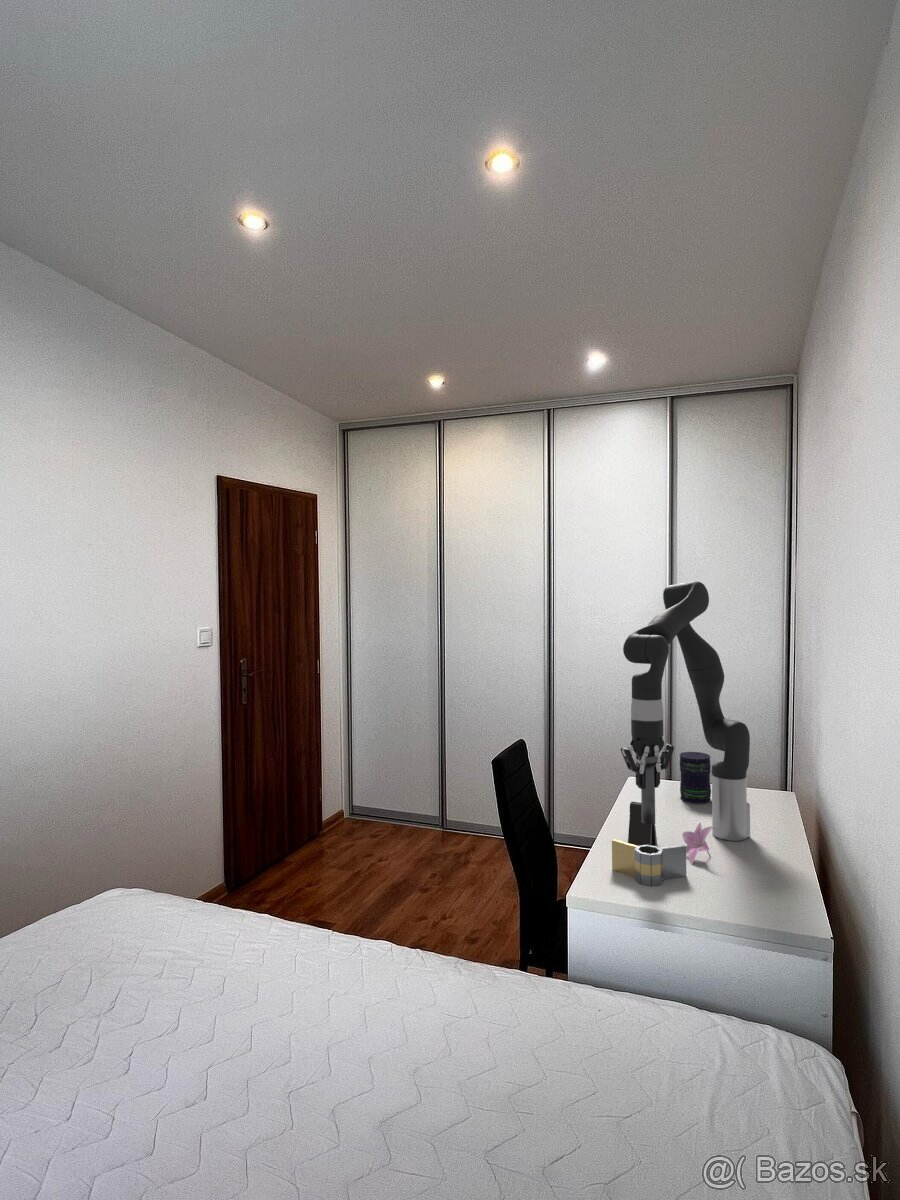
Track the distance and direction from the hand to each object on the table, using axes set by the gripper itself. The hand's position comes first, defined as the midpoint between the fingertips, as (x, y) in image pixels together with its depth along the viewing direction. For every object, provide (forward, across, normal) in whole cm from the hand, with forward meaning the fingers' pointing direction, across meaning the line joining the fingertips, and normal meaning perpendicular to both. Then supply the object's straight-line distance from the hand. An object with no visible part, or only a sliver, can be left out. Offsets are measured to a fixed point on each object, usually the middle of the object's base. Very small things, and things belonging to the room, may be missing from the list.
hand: (647, 787), depth 164 cm
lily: (+23, -19, -9) cm, 31 cm away
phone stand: (+23, -10, -20) cm, 32 cm away
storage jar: (+23, -49, -52) cm, 75 cm away
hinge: (+23, -2, -3) cm, 23 cm away
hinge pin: (+9, 0, 0) cm, 9 cm away
